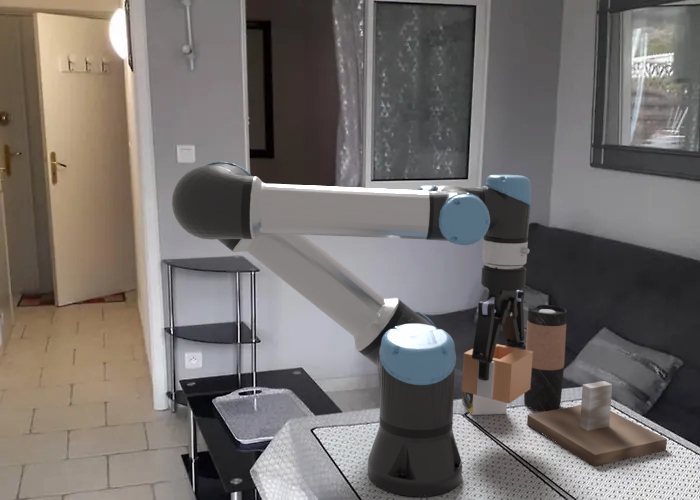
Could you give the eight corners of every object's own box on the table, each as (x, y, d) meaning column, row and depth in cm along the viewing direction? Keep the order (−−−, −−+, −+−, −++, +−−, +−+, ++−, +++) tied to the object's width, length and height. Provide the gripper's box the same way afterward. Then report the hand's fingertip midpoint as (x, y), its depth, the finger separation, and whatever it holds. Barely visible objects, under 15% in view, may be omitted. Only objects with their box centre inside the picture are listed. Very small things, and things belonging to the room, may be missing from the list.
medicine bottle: (461, 401, 144) (463, 345, 142) (495, 400, 145) (498, 344, 143) (471, 415, 137) (473, 356, 135) (506, 414, 138) (509, 355, 136)
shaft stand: (594, 466, 117) (598, 409, 115) (527, 424, 133) (529, 374, 131) (665, 449, 123) (670, 395, 121) (593, 412, 139) (596, 363, 138)
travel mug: (563, 413, 138) (569, 315, 135) (523, 410, 140) (528, 312, 137) (559, 399, 146) (565, 305, 143) (522, 396, 147) (526, 303, 144)
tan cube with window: (509, 403, 119) (511, 364, 118) (461, 391, 124) (463, 353, 123) (530, 389, 126) (532, 351, 125) (484, 377, 132) (486, 341, 130)
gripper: (497, 277, 111) (489, 412, 114) (548, 259, 128) (540, 377, 132) (454, 270, 115) (448, 401, 119) (510, 254, 132) (503, 368, 136)
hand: (496, 388), depth 125 cm, fingers closed on tan cube with window, 9 cm apart
